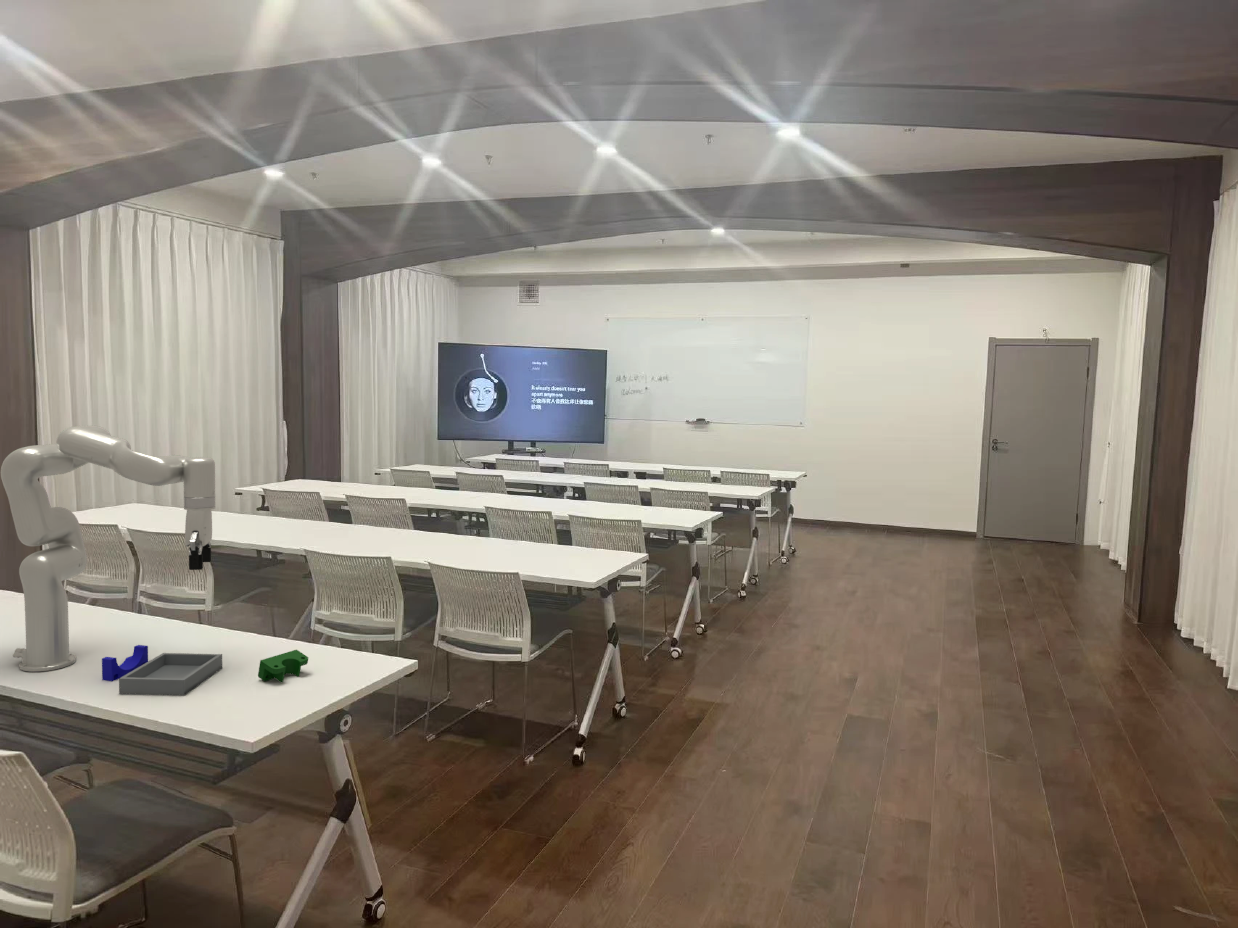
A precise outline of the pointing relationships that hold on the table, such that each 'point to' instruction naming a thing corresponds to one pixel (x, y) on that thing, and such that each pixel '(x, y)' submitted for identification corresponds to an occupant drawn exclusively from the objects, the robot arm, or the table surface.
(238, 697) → the table surface
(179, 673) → the gray tray
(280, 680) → the clamp
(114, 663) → the blue long angular piece
